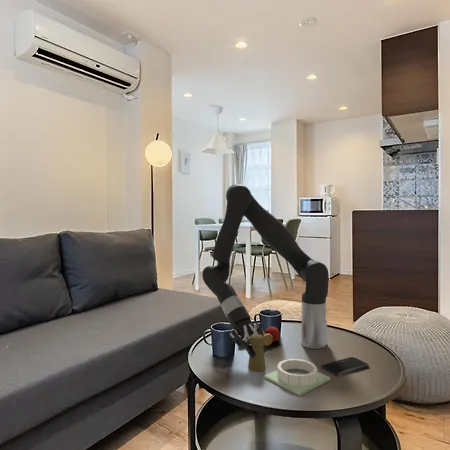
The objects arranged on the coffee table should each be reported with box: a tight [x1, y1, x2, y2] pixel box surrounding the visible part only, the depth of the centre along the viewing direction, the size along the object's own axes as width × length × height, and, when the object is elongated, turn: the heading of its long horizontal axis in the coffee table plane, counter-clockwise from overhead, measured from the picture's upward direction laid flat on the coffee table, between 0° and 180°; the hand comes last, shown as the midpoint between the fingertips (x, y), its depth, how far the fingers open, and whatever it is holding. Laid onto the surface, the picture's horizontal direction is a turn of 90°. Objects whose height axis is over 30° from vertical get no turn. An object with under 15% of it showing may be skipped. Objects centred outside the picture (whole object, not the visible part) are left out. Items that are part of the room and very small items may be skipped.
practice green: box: [263, 358, 331, 396], centre depth 111 cm, size 15×14×4 cm
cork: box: [247, 334, 267, 372], centre depth 120 cm, size 6×6×11 cm
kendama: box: [262, 326, 281, 347], centre depth 141 cm, size 8×6×18 cm
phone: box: [321, 356, 370, 377], centre depth 120 cm, size 8×1×15 cm
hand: (259, 354), depth 119 cm, fingers closed on cork, 4 cm apart
